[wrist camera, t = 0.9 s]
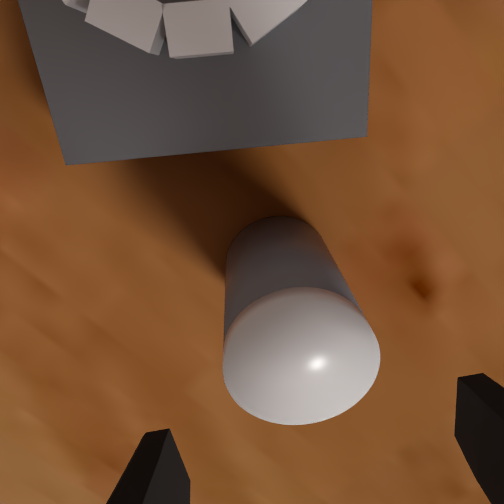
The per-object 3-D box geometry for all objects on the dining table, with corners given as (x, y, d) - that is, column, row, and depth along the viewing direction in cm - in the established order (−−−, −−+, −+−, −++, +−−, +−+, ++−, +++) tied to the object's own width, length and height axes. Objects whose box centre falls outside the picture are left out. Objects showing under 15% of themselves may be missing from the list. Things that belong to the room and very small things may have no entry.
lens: (328, 211, 17) (385, 293, 11) (328, 302, 19) (376, 417, 13) (220, 221, 17) (213, 310, 11) (231, 312, 19) (231, 431, 13)
